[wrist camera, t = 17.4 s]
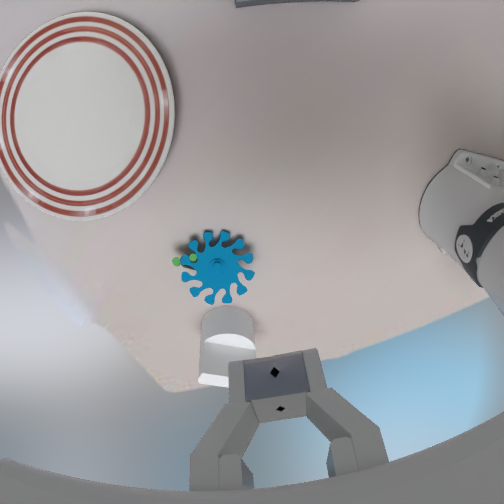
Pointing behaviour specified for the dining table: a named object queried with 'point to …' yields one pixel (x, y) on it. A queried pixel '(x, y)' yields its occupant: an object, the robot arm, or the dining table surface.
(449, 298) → the dining table surface
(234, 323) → the white toy chair
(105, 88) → the dinner plate
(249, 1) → the jig
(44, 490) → the robot arm
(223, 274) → the gear
